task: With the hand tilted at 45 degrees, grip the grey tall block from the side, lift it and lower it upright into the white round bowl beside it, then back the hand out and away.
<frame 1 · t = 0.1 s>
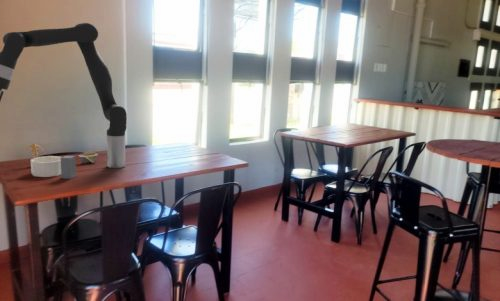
white round bowl: (48, 173, 189), on the table
grey tall block: (68, 177, 184), on the table
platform: (89, 164, 212), on the table
figurine: (35, 166, 200), on the table
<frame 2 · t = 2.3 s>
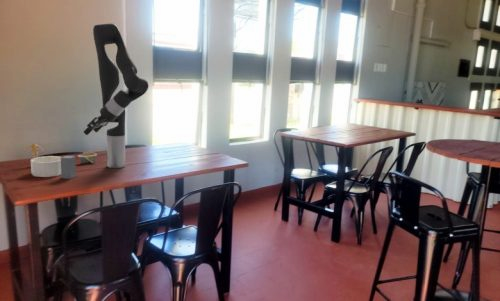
hand: (90, 132, 178), 23 cm above the table, tool tilted 45°, fingers open, 8 cm apart
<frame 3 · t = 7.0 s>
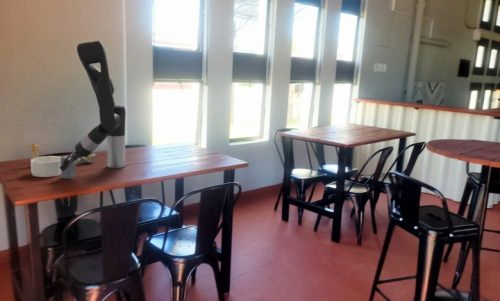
hand: (64, 167, 183), 4 cm above the table, tool tilted 45°, fingers closed on grey tall block, 4 cm apart
grey tall block: (68, 177, 184), on the table, touching gripper
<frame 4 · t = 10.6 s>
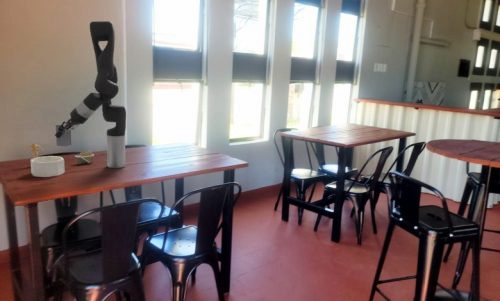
hand: (59, 135, 181), 20 cm above the table, tool tilted 45°, fingers closed on grey tall block, 4 cm apart
grey tall block: (64, 145, 181), point 15 cm above the table, touching gripper
when the fingers open (8 cm above the table, at t = 14.3 s): grey tall block drops 2 cm, resting on white round bowl.
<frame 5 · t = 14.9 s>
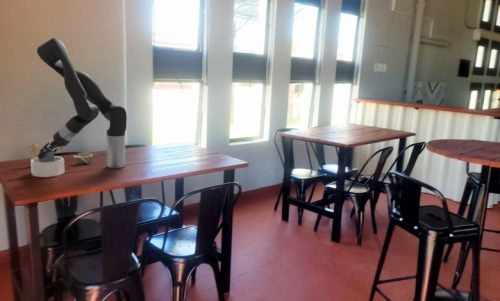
hand: (44, 156, 187), 9 cm above the table, tool tilted 45°, fingers open, 8 cm apart
grey tall block: (47, 171, 188), point 1 cm above the table, touching white round bowl
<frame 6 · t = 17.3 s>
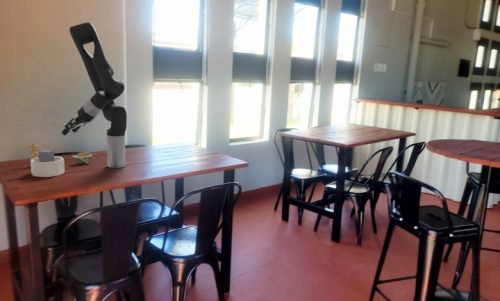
hand: (68, 132, 183), 21 cm above the table, tool tilted 45°, fingers open, 8 cm apart
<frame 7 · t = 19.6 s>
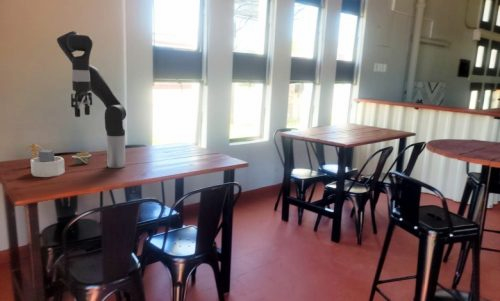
hand: (82, 115, 177), 30 cm above the table, tool pointing down, fingers open, 8 cm apart
at the end: grey tall block inside the target area on the white round bowl (0.6 cm from its centre), point 1.2 cm above the white round bowl's base; grey tall block tilted 0°; the gripper is holding nothing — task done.
